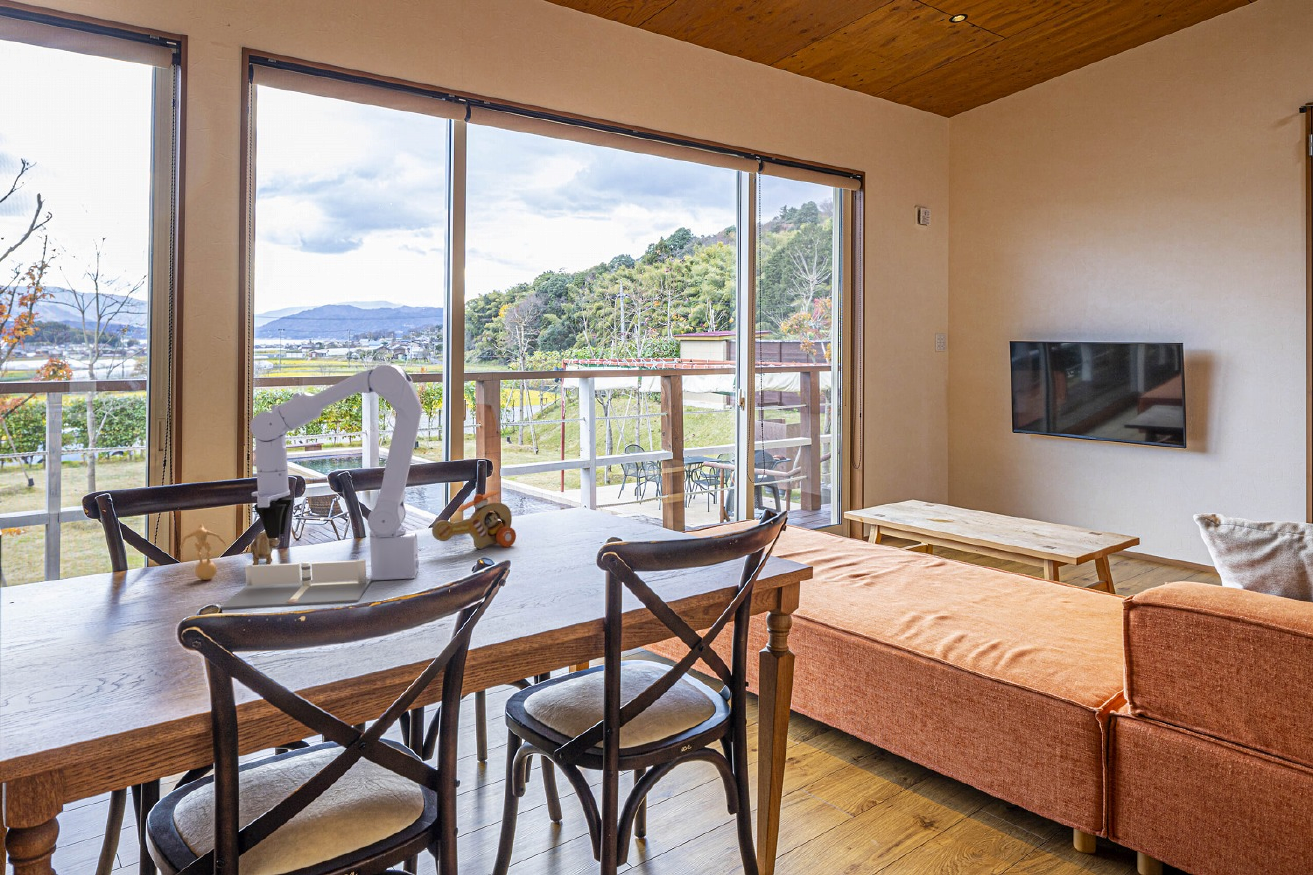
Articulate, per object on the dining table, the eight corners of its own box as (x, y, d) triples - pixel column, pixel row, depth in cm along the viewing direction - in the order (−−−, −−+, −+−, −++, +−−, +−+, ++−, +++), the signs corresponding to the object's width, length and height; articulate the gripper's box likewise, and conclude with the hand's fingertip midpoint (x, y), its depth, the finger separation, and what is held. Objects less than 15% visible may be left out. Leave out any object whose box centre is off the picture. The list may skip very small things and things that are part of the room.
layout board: (373, 578, 169) (373, 576, 169) (357, 601, 154) (357, 599, 154) (249, 584, 166) (249, 582, 166) (220, 609, 150) (220, 606, 150)
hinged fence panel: (301, 581, 164) (300, 562, 164) (299, 583, 163) (298, 564, 162) (247, 583, 162) (246, 565, 162) (245, 585, 161) (244, 567, 161)
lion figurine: (282, 572, 175) (280, 531, 174) (255, 576, 172) (252, 534, 171) (271, 558, 187) (268, 519, 186) (245, 562, 184) (242, 522, 183)
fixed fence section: (367, 581, 166) (366, 559, 166) (365, 583, 165) (364, 561, 164) (303, 584, 164) (302, 562, 164) (301, 586, 163) (300, 564, 162)
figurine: (230, 575, 173) (226, 519, 172) (226, 582, 168) (222, 524, 166) (185, 579, 170) (181, 522, 169) (179, 586, 165) (175, 528, 163)
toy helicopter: (520, 544, 199) (519, 489, 197) (444, 560, 184) (441, 500, 183) (501, 539, 205) (500, 485, 203) (425, 554, 190) (423, 495, 189)
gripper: (262, 466, 173) (266, 529, 174) (239, 476, 158) (243, 545, 160) (297, 465, 174) (301, 528, 175) (277, 474, 159) (281, 543, 161)
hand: (276, 536), depth 167 cm, fingers open, 3 cm apart
